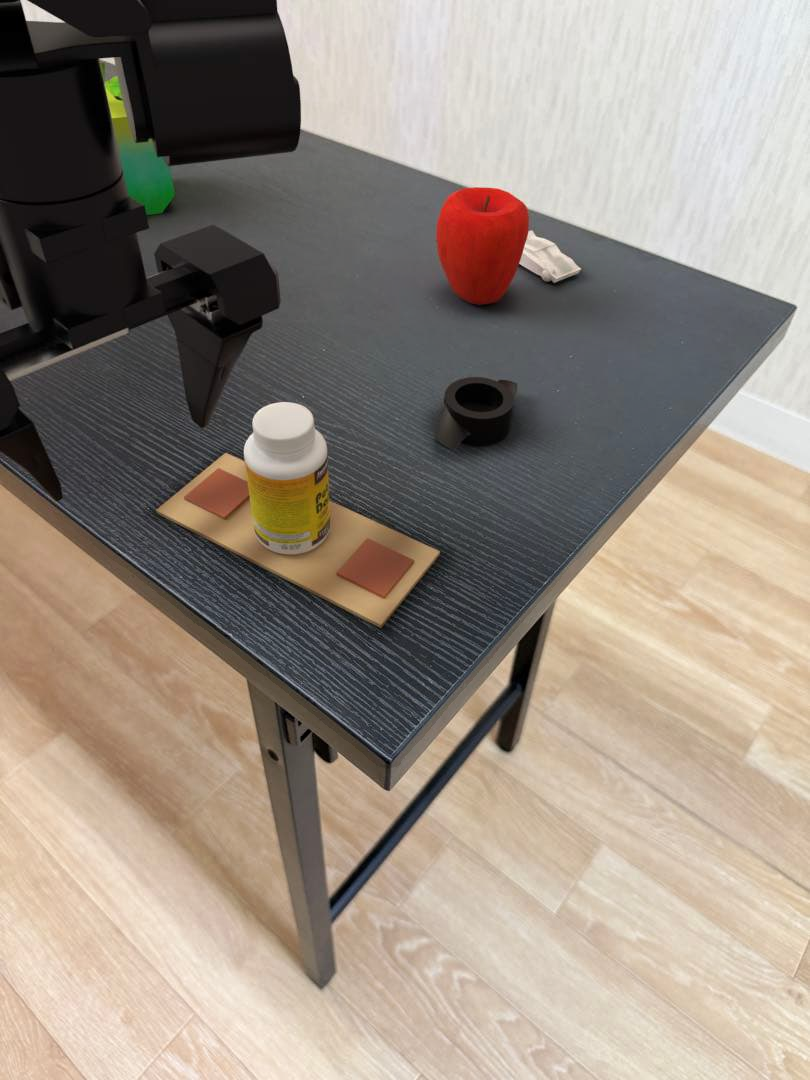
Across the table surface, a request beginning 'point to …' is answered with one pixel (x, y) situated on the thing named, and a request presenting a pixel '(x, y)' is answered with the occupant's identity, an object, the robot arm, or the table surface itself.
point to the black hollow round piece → (475, 412)
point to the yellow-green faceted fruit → (138, 158)
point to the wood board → (329, 569)
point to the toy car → (547, 259)
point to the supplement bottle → (288, 479)
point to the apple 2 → (481, 242)
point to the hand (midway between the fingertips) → (131, 458)
